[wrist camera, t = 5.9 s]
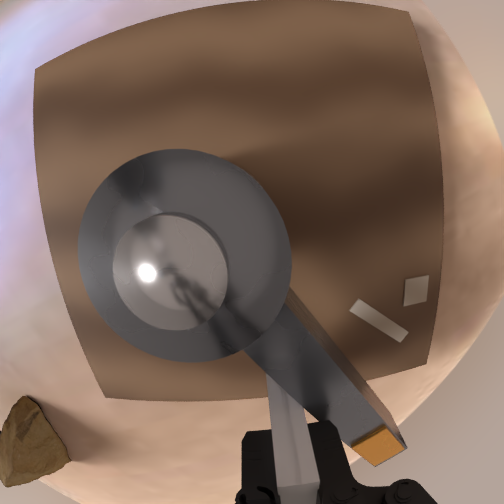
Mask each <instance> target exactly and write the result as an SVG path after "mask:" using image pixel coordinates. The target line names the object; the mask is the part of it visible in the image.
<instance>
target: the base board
mask: <svg viewBox="0 0 504 504" xmlns="http://www.w3.org/2000/svg"><path fill="white" fill-rule="evenodd" d="M33 125H34V148H35V161H36V172H37V180H38V188H39V195H40V202H41V208H42V214H43V219H44V225H45V230H46V234H47V239H48V243H49V248H50V252H51V256H52V260H53V264H54V267H55V271H56V275H57V278H58V282H59V285H60V288H61V291H62V295H63V298H64V301H65V304H66V307H67V310H68V313H69V315H70V318H71V321H72V324H73V326H74V329H75V332H76V334H77V337H78V339H79V342H80V344H81V346H82V349H83V351H84V354H85V356H86V358H87V360H88V363H89V365H90V367H91V369H92V371H93V373H94V376H95V378H96V380H97V382H98V384H99V386H100V388H101V390H102V392H103V394H104V396H105V397H106V398H116V399H129V400H146V401H222V400H239V399H252V398H263V397H268V389H267V379H266V372H265V371H264V370H263V369H262V368H261V367H259V366H258V365H257V364H256V363H255V362H254V361H253V360H252V359H251V358H250V357H249V356H248V355H247V354H246V353H245V352H244V351H243V350H241V351H239V352H237V353H235V354H232V355H230V356H227V357H225V358H221V359H217V360H213V361H207V362H198V363H186V362H177V361H171V360H166V359H162V358H159V357H156V356H153V355H150V354H148V353H146V352H144V351H142V350H140V349H138V348H136V347H134V346H133V345H131V344H130V343H128V342H127V341H125V340H124V339H123V338H121V337H120V336H119V335H118V334H117V333H115V332H114V331H113V330H112V329H111V328H110V327H109V326H108V325H107V323H106V322H105V321H104V320H103V319H102V317H101V316H100V315H99V313H98V312H97V310H96V309H95V307H94V306H93V304H92V302H91V300H90V298H89V296H88V294H87V292H86V289H85V286H84V284H83V281H82V277H81V273H80V269H79V261H78V236H79V229H80V225H81V221H82V217H83V214H84V212H85V209H86V207H87V205H88V202H89V201H90V199H91V197H92V196H93V194H94V192H95V191H96V189H97V188H98V187H99V186H100V184H101V183H102V182H103V181H104V180H105V179H106V178H107V177H108V176H109V175H110V174H111V173H112V172H113V171H114V170H116V169H117V168H118V167H120V166H121V165H123V164H124V163H126V162H128V161H130V160H132V159H134V158H136V157H138V156H140V155H143V154H146V153H150V152H153V151H159V150H165V149H189V150H197V151H201V152H205V153H209V154H212V155H215V156H217V157H220V158H222V159H224V160H227V161H229V162H231V163H233V164H234V165H236V166H238V167H240V168H242V169H243V170H245V171H247V172H248V173H249V174H251V175H252V176H253V177H254V178H255V179H256V180H257V181H258V182H259V184H260V185H261V186H262V187H263V189H264V190H265V191H266V193H267V194H268V195H269V197H270V198H271V200H272V201H273V203H274V204H275V206H276V207H277V209H278V211H279V213H280V215H281V217H282V219H283V221H284V224H285V227H286V230H287V233H288V237H289V242H290V247H291V257H292V270H291V281H290V285H289V286H290V287H291V288H292V290H293V291H294V292H295V293H296V294H297V296H298V297H299V298H300V299H301V301H302V302H303V303H304V304H305V306H306V307H307V308H308V309H309V311H310V312H311V313H312V314H313V316H314V317H315V318H316V320H317V321H318V322H319V323H320V325H321V326H322V327H323V328H324V330H325V331H326V332H327V333H328V335H329V336H330V337H331V338H332V340H333V341H334V342H335V343H336V345H337V346H338V347H339V348H340V350H341V351H342V352H343V353H344V355H345V356H346V357H347V359H348V360H349V361H350V362H351V364H352V365H353V366H354V367H355V369H356V370H357V371H358V372H359V374H360V375H361V376H362V377H363V379H364V380H365V381H367V380H371V379H375V378H379V377H383V376H387V375H391V374H394V373H398V372H402V371H405V370H409V369H412V368H415V367H418V366H422V365H425V364H426V363H427V359H428V355H429V350H430V345H431V340H432V335H433V330H434V324H435V318H436V311H437V305H438V297H439V289H440V280H441V269H442V255H443V232H444V198H443V176H442V162H441V151H440V142H439V134H438V127H437V120H436V114H435V108H434V102H433V97H432V92H431V87H430V83H429V78H428V74H427V70H426V66H425V62H424V58H423V55H422V51H421V48H420V44H419V41H418V38H417V35H416V32H415V29H414V26H413V23H412V20H411V17H410V14H409V12H407V11H402V10H398V9H393V8H388V7H382V6H376V5H370V4H363V3H355V2H345V1H334V0H257V1H246V2H236V3H228V4H221V5H214V6H208V7H202V8H197V9H192V10H187V11H183V12H178V13H174V14H170V15H166V16H162V17H158V18H155V19H151V20H148V21H144V22H141V23H138V24H135V25H132V26H129V27H126V28H123V29H120V30H117V31H115V32H112V33H109V34H107V35H104V36H102V37H99V38H97V39H94V40H92V41H90V42H87V43H85V44H83V45H81V46H79V47H76V48H74V49H72V50H70V51H68V52H66V53H64V54H62V55H60V56H58V57H56V58H54V59H52V60H51V61H49V62H47V63H45V64H43V65H42V66H40V67H38V68H36V69H35V78H34V101H33Z"/></svg>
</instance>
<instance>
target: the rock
mask: <svg viewBox="0 0 504 504" xmlns="http://www.w3.org/2000/svg"><path fill="white" fill-rule="evenodd" d="M69 462H71V460H70V459H69V458H68V455H67V450H66V447H65V446H64V445H63V443H62V441H61V439H60V438H59V437H58V435H57V434H56V433H55V432H54V430H53V429H52V427H51V425H50V424H49V422H48V421H46V419H45V418H44V415H43V413H42V411H41V409H40V408H39V406H38V405H37V404H36V403H35V402H33V401H31V400H30V399H29V398H28V397H26V396H22V397H21V398H20V399H19V400H18V401H17V403H16V404H14V405H13V407H12V408H11V411H10V413H9V415H8V417H7V419H6V420H5V422H4V424H3V428H2V432H1V434H0V480H1V481H2V483H3V485H4V486H5V487H11V486H16V485H21V484H26V483H29V482H31V481H33V480H36V479H39V478H40V477H41V476H44V475H50V474H52V473H54V472H56V471H57V470H59V469H61V468H63V467H64V465H65V464H66V463H69Z"/></svg>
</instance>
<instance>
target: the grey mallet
mask: <svg viewBox="0 0 504 504" xmlns="http://www.w3.org/2000/svg"><path fill="white" fill-rule="evenodd" d="M78 261H79V269H80V273H81V277H82V281H83V284H84V286H85V289H86V292H87V294H88V296H89V298H90V300H91V302H92V304H93V306H94V307H95V309H96V310H97V312H98V313H99V315H100V316H101V317H102V319H103V320H104V321H105V322H106V323H107V325H108V326H109V327H110V328H111V329H112V330H113V331H114V332H115V333H117V334H118V335H119V336H120V337H121V338H123V339H124V340H125V341H127V342H128V343H130V344H131V345H133V346H134V347H136V348H138V349H140V350H142V351H144V352H146V353H148V354H150V355H153V356H156V357H159V358H162V359H166V360H171V361H177V362H186V363H198V362H207V361H213V360H217V359H221V358H225V357H227V356H230V355H232V354H235V353H237V352H239V351H241V350H243V351H244V352H245V353H246V354H247V355H248V356H249V357H250V358H251V359H252V360H253V361H254V362H255V363H256V364H257V365H258V366H259V367H261V368H262V369H263V370H264V371H265V372H266V373H267V374H268V375H269V376H270V377H271V378H272V379H273V380H274V381H275V382H276V383H277V384H278V385H279V386H280V387H282V388H283V389H284V390H285V391H286V392H287V393H288V394H289V395H290V396H291V397H292V398H293V399H295V400H296V401H297V402H298V403H299V404H300V405H301V406H302V407H303V408H305V409H306V410H307V411H308V412H309V413H310V414H311V415H312V416H314V417H315V418H316V419H317V420H318V421H319V422H320V421H326V420H330V421H331V422H332V423H333V424H334V425H335V426H336V427H337V429H338V432H339V435H340V439H341V440H342V441H343V442H344V443H345V444H347V445H348V446H349V447H350V448H352V449H353V450H354V451H355V452H357V453H358V454H359V455H360V456H362V457H363V458H364V459H366V460H367V461H368V462H369V463H371V464H372V465H373V466H375V467H376V466H377V465H379V464H381V463H383V462H385V461H387V460H388V459H390V458H392V457H394V456H395V455H397V454H399V453H400V452H402V451H404V450H405V449H407V446H406V444H405V442H404V440H403V438H402V436H401V434H400V432H399V429H398V427H397V425H396V423H395V421H394V419H393V417H392V415H391V413H390V412H389V411H388V409H387V408H386V407H385V405H384V404H383V403H382V402H381V400H380V399H379V398H378V397H377V395H376V394H375V393H374V391H373V390H372V389H371V388H370V386H369V385H368V384H367V383H366V381H365V380H364V379H363V377H362V376H361V375H360V374H359V372H358V371H357V370H356V369H355V367H354V366H353V365H352V364H351V362H350V361H349V360H348V359H347V357H346V356H345V355H344V353H343V352H342V351H341V350H340V348H339V347H338V346H337V345H336V343H335V342H334V341H333V340H332V338H331V337H330V336H329V335H328V333H327V332H326V331H325V330H324V328H323V327H322V326H321V325H320V323H319V322H318V321H317V320H316V318H315V317H314V316H313V314H312V313H311V312H310V311H309V309H308V308H307V307H306V306H305V304H304V303H303V302H302V301H301V299H300V298H299V297H298V296H297V294H296V293H295V292H294V291H293V290H292V288H291V287H290V286H289V285H290V281H291V270H292V257H291V247H290V242H289V237H288V233H287V230H286V227H285V224H284V221H283V219H282V217H281V215H280V213H279V211H278V209H277V207H276V206H275V204H274V203H273V201H272V200H271V198H270V197H269V195H268V194H267V193H266V191H265V190H264V189H263V187H262V186H261V185H260V184H259V182H258V181H257V180H256V179H255V178H254V177H253V176H252V175H251V174H249V173H248V172H247V171H245V170H243V169H242V168H240V167H238V166H236V165H234V164H233V163H231V162H229V161H227V160H224V159H222V158H220V157H217V156H215V155H212V154H209V153H205V152H201V151H197V150H189V149H165V150H159V151H153V152H150V153H146V154H143V155H140V156H138V157H136V158H134V159H132V160H130V161H128V162H126V163H124V164H123V165H121V166H120V167H118V168H117V169H116V170H114V171H113V172H112V173H111V174H110V175H109V176H108V177H107V178H106V179H105V180H104V181H103V182H102V183H101V184H100V186H99V187H98V188H97V189H96V191H95V192H94V194H93V196H92V197H91V199H90V201H89V202H88V205H87V207H86V209H85V212H84V214H83V217H82V221H81V225H80V229H79V236H78Z"/></svg>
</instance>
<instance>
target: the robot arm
mask: <svg viewBox="0 0 504 504" xmlns="http://www.w3.org/2000/svg"><path fill="white" fill-rule="evenodd" d="M266 379H267V389H268V399H269V409H270V419H271V429H269V430H259V431H248V432H246V434H245V436H244V438H243V440H242V488H241V490H240V491H239V492H238V493H237V495H236V498H235V501H236V503H235V504H437V502H436V501H435V500H434V499H433V498H432V497H431V496H430V495H429V494H428V493H427V492H426V491H425V489H424V488H423V487H422V486H421V485H420V484H419V483H418V482H416V481H414V480H411V479H401V480H398V481H396V482H394V483H393V484H391V485H390V486H383V487H369V486H365V485H362V484H360V483H358V482H357V481H356V480H355V479H354V477H353V475H352V472H351V470H350V466H349V463H348V460H347V457H346V454H345V451H344V447H343V444H342V441H341V439H340V435H339V432H338V429H337V427H336V426H335V425H334V424H333V423H332V422H331V421H330V420H326V421H320V422H315V423H309V424H307V422H306V417H305V413H304V409H303V407H302V406H301V405H300V404H299V403H298V402H297V401H296V400H295V399H293V398H292V397H291V396H290V395H289V394H288V393H287V392H286V391H285V390H284V389H283V388H282V387H280V386H279V385H278V384H277V383H276V382H275V381H274V380H273V379H272V378H271V377H270V376H269V375H268V374H267V373H266Z"/></svg>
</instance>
